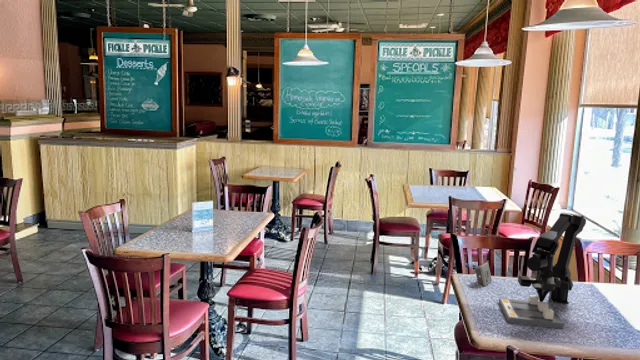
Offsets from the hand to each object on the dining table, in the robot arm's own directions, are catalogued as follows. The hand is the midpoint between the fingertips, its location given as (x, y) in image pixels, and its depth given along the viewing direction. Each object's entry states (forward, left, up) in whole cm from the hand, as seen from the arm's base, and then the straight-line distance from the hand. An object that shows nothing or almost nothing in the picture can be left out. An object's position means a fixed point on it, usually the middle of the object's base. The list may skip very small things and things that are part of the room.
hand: (540, 302), depth 195 cm
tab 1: (+1, +7, -1) cm, 7 cm away
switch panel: (+6, +7, -3) cm, 10 cm away
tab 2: (+1, +14, -1) cm, 14 cm away
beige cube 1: (+3, 0, -1) cm, 3 cm away
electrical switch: (+19, -27, -3) cm, 33 cm away
